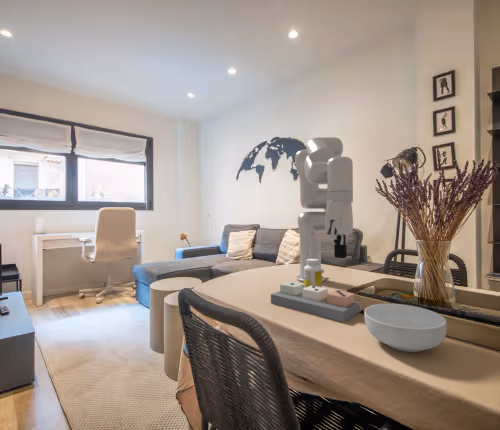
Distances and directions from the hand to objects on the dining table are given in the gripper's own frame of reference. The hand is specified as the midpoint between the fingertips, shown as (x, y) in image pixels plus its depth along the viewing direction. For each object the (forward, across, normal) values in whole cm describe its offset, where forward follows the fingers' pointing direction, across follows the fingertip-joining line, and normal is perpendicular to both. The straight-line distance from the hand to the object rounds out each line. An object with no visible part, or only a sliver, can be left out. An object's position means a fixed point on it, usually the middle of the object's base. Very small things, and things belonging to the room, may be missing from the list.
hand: (340, 257), depth 86 cm
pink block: (+15, 0, 0) cm, 15 cm away
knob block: (+15, 0, -18) cm, 24 cm away
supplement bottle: (+17, -14, -18) cm, 29 cm away
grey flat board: (+17, 0, -9) cm, 19 cm away
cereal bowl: (+17, +10, +20) cm, 28 cm away
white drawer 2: (+15, 0, -9) cm, 18 cm away
